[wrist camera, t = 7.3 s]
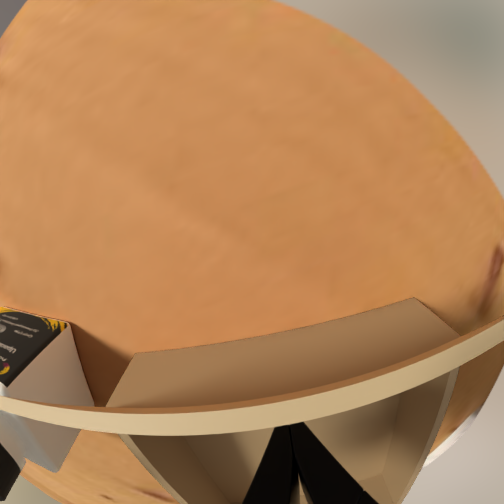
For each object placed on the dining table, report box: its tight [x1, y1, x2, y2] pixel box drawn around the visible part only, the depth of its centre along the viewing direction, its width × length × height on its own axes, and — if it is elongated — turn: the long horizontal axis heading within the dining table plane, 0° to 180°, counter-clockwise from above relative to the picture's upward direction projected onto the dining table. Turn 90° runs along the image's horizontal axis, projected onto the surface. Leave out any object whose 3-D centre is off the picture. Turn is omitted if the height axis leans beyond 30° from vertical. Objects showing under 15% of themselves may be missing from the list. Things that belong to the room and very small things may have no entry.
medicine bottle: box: [0, 307, 94, 501], centre depth 9 cm, size 7×7×12 cm
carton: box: [105, 297, 461, 504], centre depth 14 cm, size 20×16×5 cm
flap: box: [0, 316, 504, 436], centre depth 6 cm, size 6×15×1 cm
